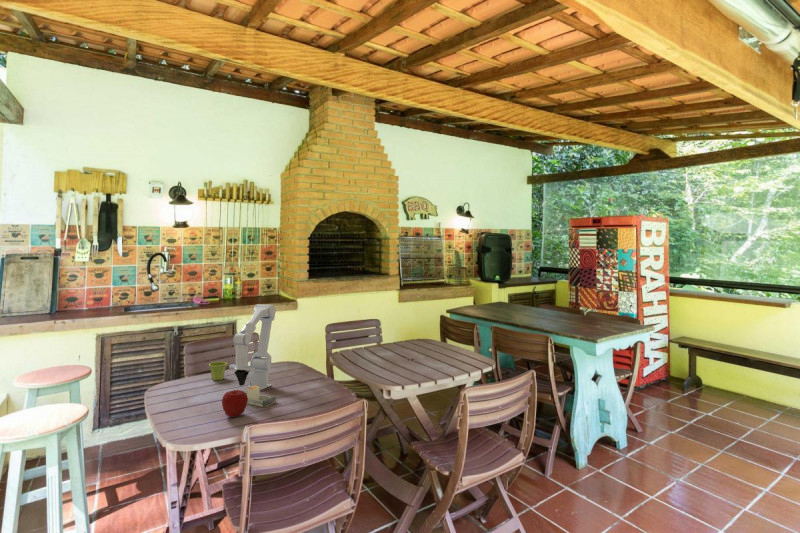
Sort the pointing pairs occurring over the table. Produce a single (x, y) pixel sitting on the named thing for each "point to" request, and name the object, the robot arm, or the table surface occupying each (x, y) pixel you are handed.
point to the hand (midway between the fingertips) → (241, 385)
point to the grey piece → (262, 401)
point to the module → (253, 392)
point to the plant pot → (217, 370)
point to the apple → (234, 402)
